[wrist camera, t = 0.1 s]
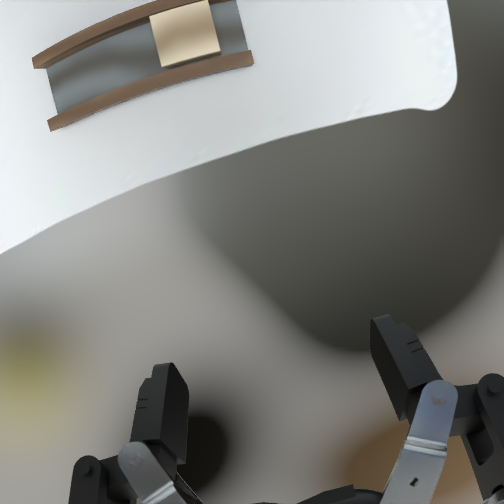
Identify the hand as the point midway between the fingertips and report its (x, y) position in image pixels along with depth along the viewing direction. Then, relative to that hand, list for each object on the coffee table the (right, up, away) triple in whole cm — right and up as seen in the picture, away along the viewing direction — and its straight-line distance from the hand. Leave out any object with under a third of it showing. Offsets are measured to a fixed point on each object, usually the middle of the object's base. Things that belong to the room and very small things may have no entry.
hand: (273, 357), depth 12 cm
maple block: (-8, +28, +17) cm, 33 cm away
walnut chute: (-14, +27, +17) cm, 35 cm away
